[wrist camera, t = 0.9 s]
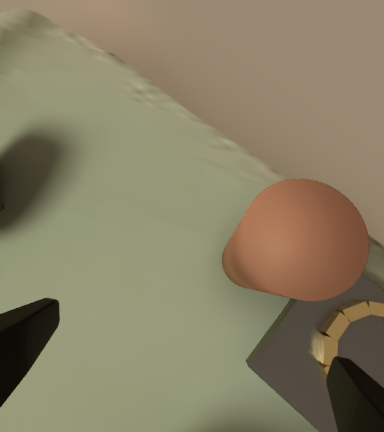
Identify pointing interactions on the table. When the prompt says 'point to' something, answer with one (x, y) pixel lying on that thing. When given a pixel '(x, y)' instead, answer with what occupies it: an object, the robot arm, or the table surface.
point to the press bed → (322, 347)
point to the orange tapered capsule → (298, 242)
